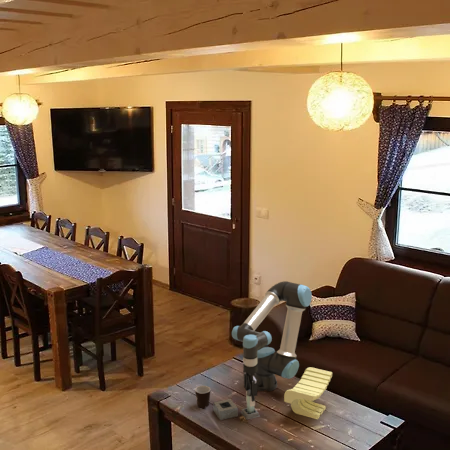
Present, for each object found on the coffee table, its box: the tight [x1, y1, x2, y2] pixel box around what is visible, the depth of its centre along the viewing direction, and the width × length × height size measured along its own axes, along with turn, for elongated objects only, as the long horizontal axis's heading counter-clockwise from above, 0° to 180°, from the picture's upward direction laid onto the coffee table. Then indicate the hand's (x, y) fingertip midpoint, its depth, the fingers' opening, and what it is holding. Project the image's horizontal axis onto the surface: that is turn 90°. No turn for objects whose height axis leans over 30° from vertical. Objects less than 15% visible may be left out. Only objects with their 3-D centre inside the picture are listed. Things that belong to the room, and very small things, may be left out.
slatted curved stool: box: [283, 366, 333, 420], centre depth 310 cm, size 30×16×18 cm, turn 150°
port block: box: [212, 398, 239, 421], centre depth 307 cm, size 10×10×6 cm
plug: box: [246, 389, 255, 413], centre depth 305 cm, size 4×4×12 cm
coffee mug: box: [194, 385, 211, 410], centre depth 317 cm, size 12×9×10 cm
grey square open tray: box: [240, 407, 261, 420], centre depth 306 cm, size 8×8×3 cm
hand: (250, 403), depth 305 cm, fingers closed on plug, 4 cm apart
